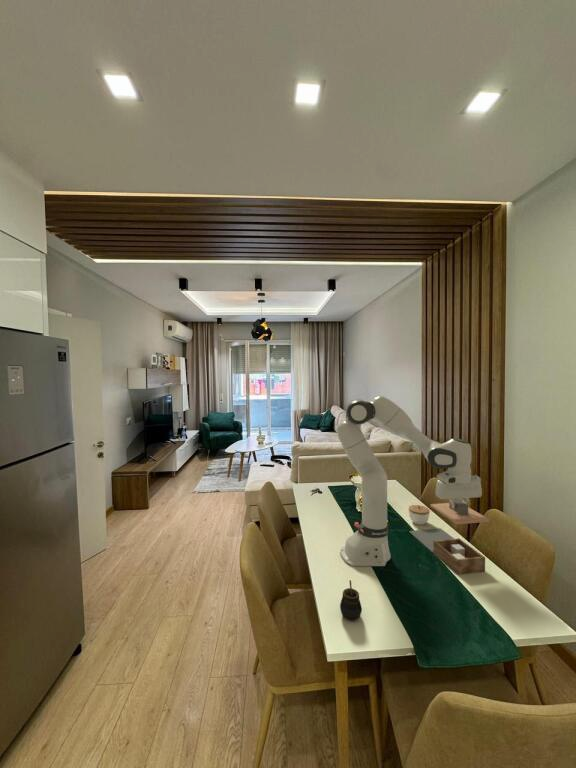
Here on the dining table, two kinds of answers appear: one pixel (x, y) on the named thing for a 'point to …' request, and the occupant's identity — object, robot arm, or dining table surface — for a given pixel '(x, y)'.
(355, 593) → the mate gourd
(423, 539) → the rubber mat
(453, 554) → the cream block
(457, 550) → the grey block
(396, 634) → the dining table surface
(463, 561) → the walnut box
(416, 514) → the lidded jar
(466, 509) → the lid
